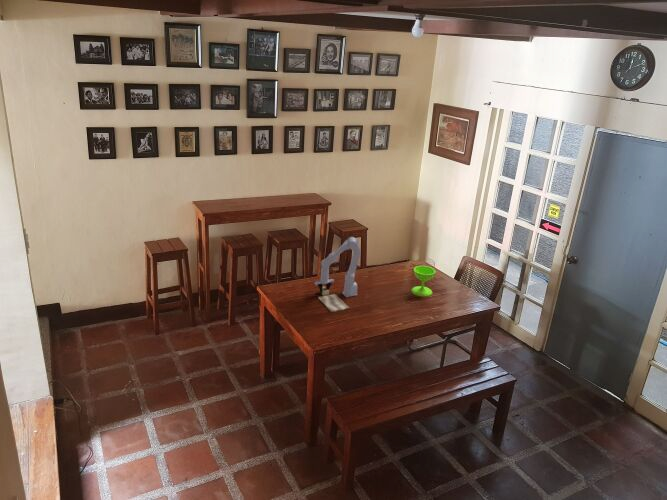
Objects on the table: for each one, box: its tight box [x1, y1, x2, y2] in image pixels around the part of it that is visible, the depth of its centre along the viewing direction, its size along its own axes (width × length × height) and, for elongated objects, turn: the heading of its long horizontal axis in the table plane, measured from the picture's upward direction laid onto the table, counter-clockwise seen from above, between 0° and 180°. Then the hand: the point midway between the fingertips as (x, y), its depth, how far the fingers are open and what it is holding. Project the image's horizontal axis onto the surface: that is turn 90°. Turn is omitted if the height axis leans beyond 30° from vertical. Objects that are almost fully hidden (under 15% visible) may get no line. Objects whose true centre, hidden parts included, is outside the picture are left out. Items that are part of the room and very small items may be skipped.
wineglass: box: [410, 265, 436, 298], centre depth 399 cm, size 16×16×18 cm
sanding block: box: [318, 285, 330, 297], centre depth 390 cm, size 8×4×4 cm, turn 26°
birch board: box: [317, 293, 350, 313], centre depth 378 cm, size 14×22×1 cm, turn 26°
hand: (323, 292), depth 391 cm, fingers closed on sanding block, 4 cm apart
